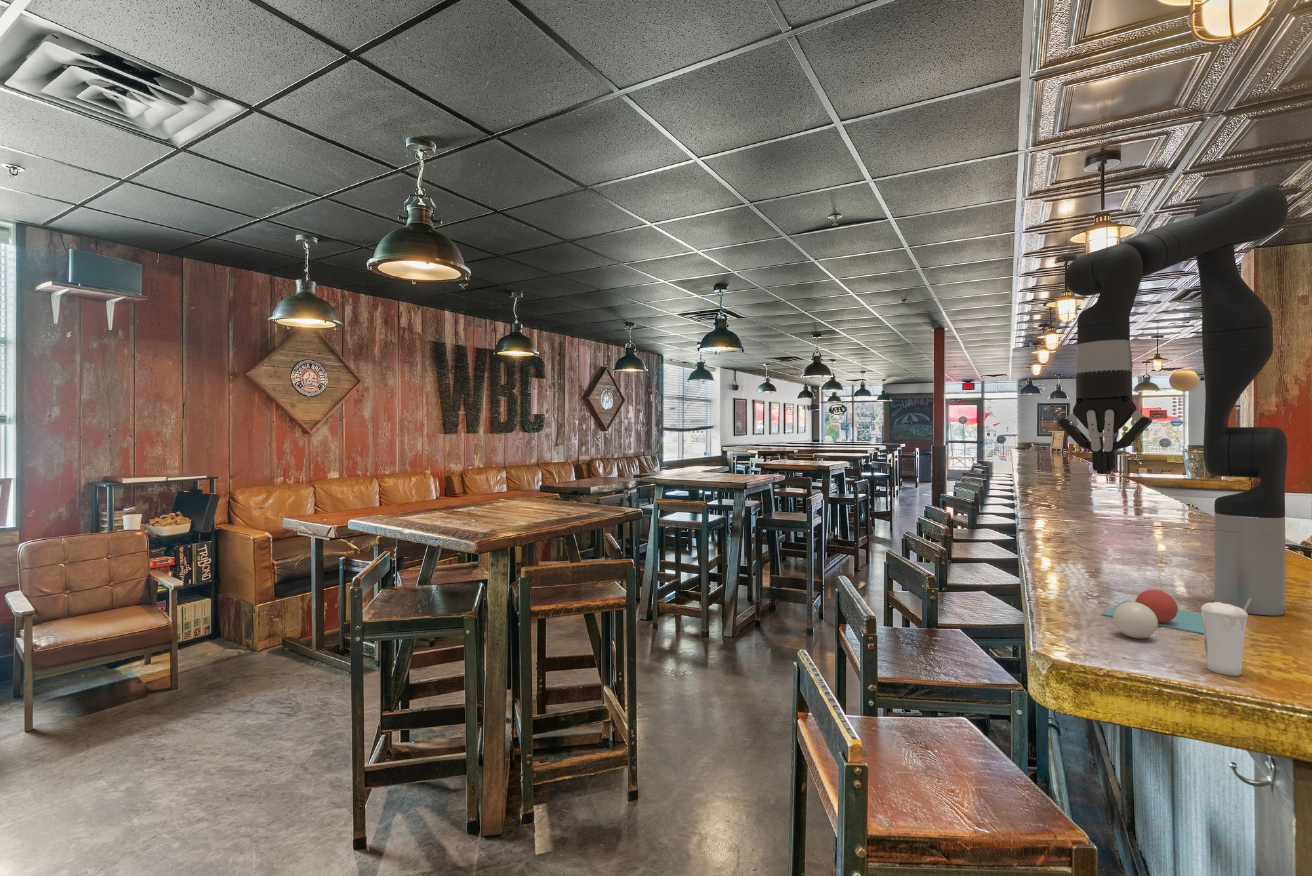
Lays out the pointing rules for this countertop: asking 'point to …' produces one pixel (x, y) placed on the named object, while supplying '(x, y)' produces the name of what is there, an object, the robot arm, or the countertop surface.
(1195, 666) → the countertop surface
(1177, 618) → the mark
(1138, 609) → the ball
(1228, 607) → the milkshake
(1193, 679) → the countertop surface
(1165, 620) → the ball
